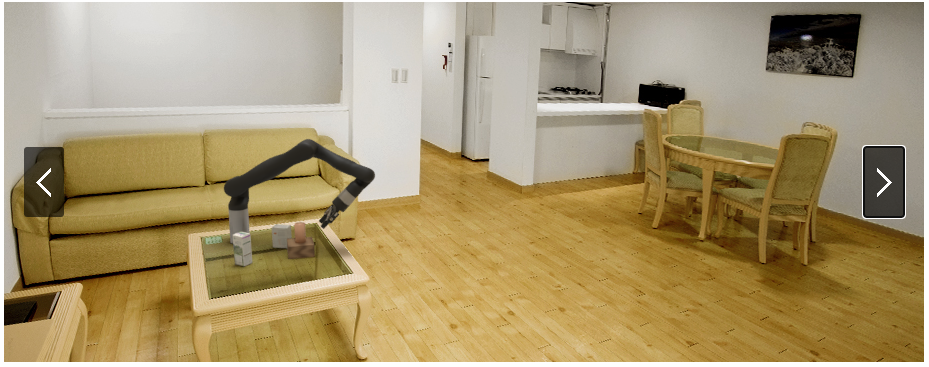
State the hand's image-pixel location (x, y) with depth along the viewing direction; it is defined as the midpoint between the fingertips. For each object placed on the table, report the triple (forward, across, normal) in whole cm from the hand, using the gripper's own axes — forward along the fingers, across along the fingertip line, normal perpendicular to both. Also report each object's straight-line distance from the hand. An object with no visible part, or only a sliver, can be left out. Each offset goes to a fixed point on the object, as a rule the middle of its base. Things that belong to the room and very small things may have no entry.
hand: (321, 224), depth 296 cm
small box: (+22, -13, -3) cm, 26 cm away
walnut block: (+17, 0, +2) cm, 17 cm away
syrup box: (+35, +7, -16) cm, 39 cm away
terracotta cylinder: (+12, 0, -2) cm, 13 cm away
